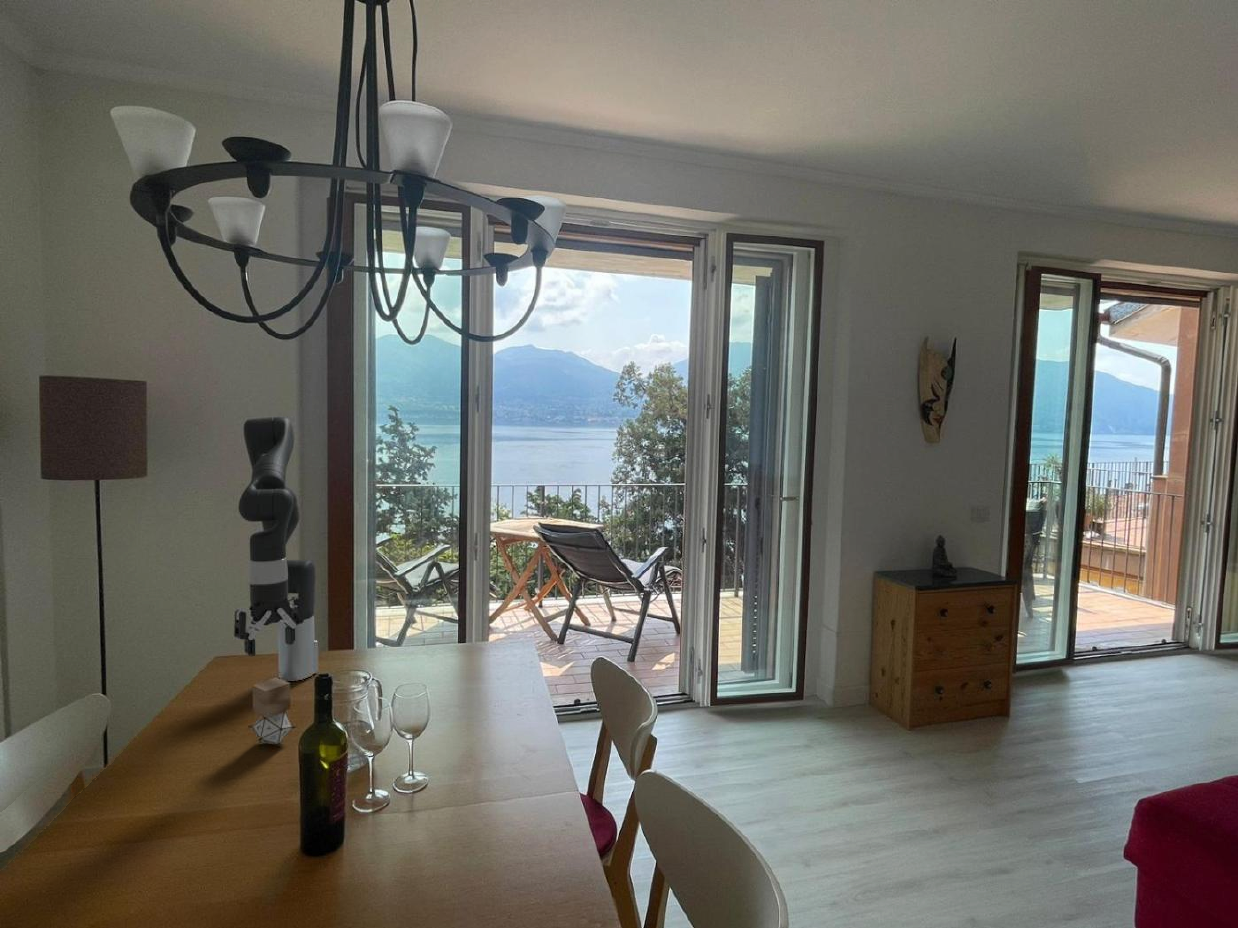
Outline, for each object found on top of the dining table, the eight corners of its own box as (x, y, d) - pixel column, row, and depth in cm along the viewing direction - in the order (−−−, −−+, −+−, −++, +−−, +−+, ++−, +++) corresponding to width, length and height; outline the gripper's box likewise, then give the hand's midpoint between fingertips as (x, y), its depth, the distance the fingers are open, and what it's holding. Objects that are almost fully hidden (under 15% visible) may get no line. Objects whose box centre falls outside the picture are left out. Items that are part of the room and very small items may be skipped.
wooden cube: (277, 702, 152) (276, 677, 151) (290, 708, 149) (289, 682, 148) (253, 711, 147) (252, 685, 147) (266, 717, 144) (265, 691, 144)
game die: (271, 764, 147) (252, 743, 140) (254, 739, 151) (235, 718, 145) (308, 734, 152) (291, 713, 145) (290, 711, 156) (273, 690, 149)
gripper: (290, 569, 153) (292, 637, 155) (226, 582, 142) (228, 655, 143) (308, 574, 149) (310, 644, 151) (244, 588, 137) (246, 663, 139)
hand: (270, 649), depth 147 cm, fingers open, 8 cm apart
